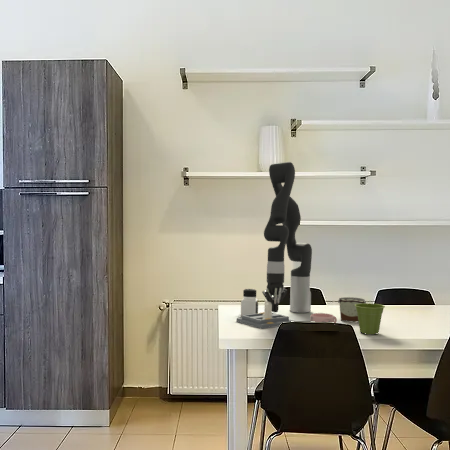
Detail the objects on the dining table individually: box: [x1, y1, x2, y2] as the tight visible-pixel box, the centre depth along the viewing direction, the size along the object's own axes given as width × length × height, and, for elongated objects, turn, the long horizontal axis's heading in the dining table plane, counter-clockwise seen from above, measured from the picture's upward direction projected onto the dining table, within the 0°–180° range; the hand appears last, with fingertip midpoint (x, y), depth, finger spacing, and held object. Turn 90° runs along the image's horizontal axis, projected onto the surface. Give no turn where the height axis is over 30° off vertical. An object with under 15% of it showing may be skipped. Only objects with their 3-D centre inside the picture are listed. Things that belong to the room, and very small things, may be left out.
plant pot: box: [355, 302, 386, 335], centre depth 227 cm, size 12×12×11 cm
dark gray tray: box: [236, 311, 294, 330], centre depth 244 cm, size 18×17×3 cm
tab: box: [262, 303, 273, 319], centre depth 241 cm, size 4×3×7 cm
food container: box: [337, 296, 367, 322], centre depth 254 cm, size 12×6×10 cm, turn 71°
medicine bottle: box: [240, 288, 259, 316], centre depth 263 cm, size 7×7×12 cm
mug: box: [309, 312, 338, 324], centre depth 234 cm, size 12×10×6 cm
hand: (274, 311), depth 243 cm, fingers closed
